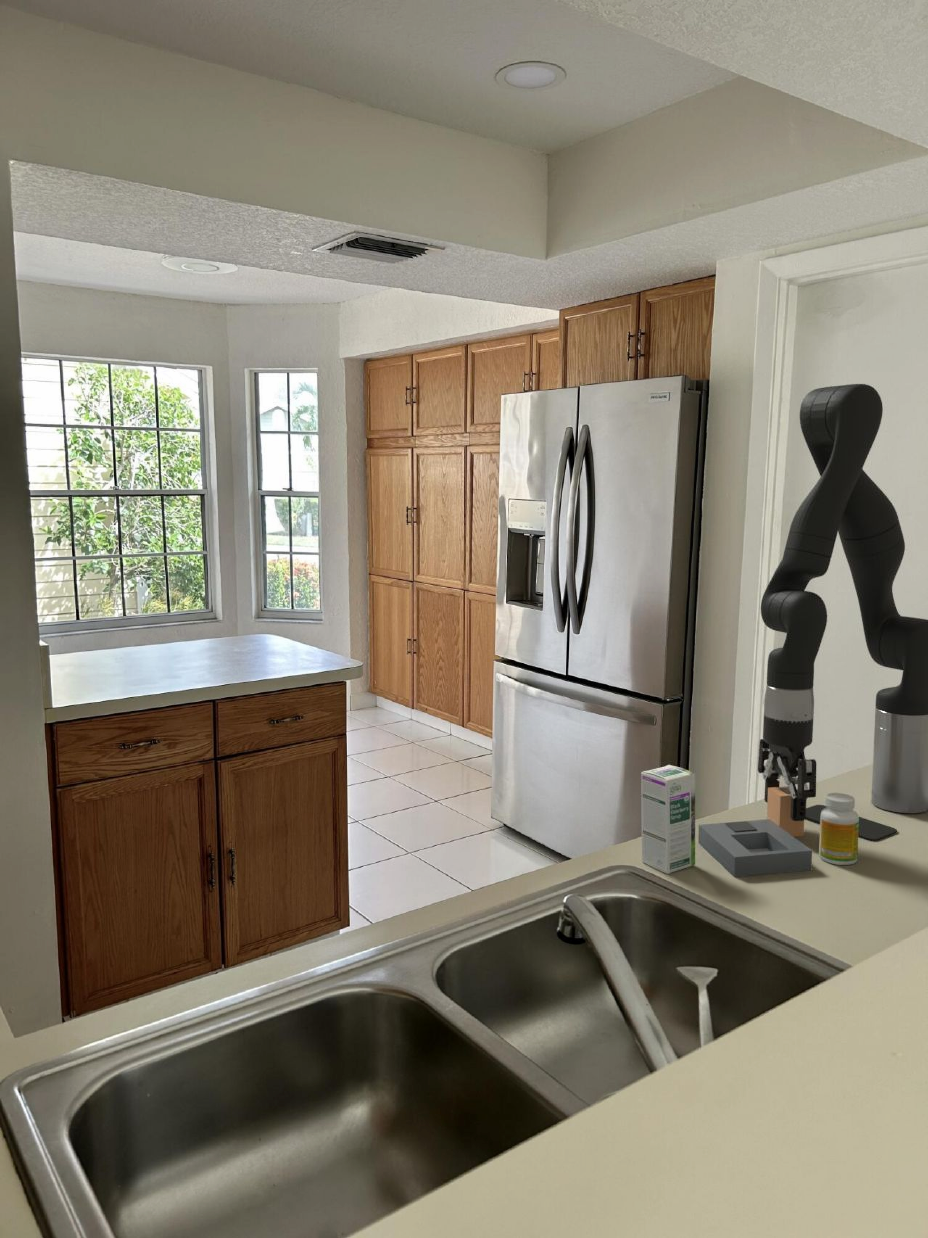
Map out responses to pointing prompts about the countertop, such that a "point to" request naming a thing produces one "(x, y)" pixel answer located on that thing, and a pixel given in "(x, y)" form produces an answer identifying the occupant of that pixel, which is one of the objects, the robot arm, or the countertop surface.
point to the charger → (783, 810)
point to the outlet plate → (754, 847)
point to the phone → (866, 827)
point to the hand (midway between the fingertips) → (784, 811)
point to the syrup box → (668, 818)
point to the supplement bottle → (839, 830)
